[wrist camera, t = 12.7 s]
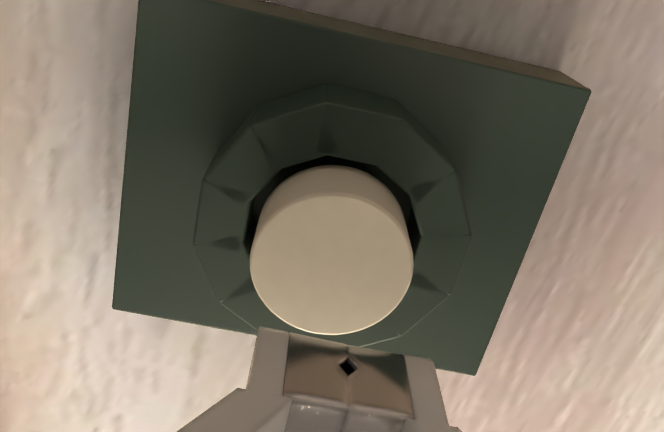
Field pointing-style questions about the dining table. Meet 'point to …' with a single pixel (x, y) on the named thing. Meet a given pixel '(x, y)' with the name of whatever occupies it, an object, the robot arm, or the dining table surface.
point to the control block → (331, 163)
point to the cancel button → (331, 251)
